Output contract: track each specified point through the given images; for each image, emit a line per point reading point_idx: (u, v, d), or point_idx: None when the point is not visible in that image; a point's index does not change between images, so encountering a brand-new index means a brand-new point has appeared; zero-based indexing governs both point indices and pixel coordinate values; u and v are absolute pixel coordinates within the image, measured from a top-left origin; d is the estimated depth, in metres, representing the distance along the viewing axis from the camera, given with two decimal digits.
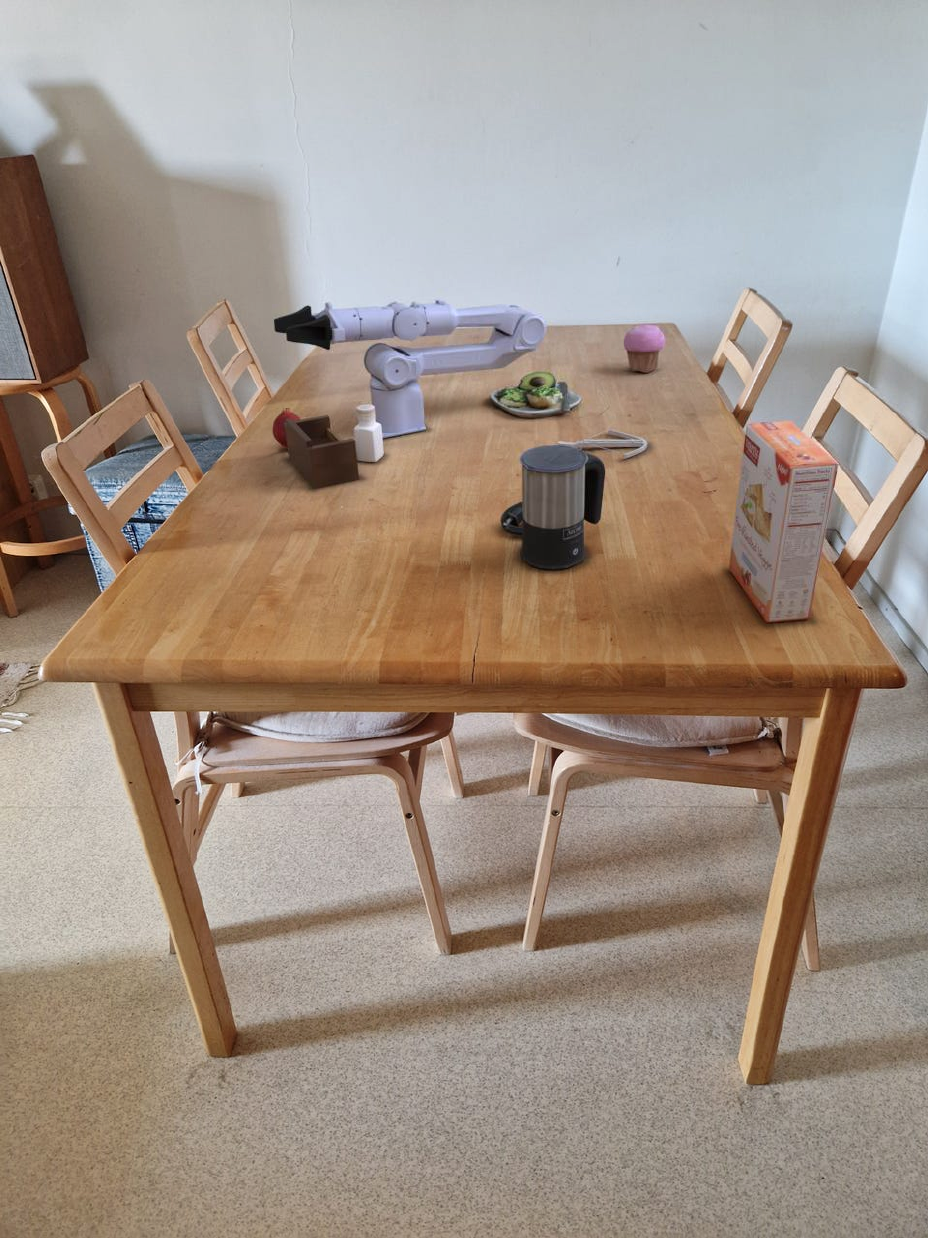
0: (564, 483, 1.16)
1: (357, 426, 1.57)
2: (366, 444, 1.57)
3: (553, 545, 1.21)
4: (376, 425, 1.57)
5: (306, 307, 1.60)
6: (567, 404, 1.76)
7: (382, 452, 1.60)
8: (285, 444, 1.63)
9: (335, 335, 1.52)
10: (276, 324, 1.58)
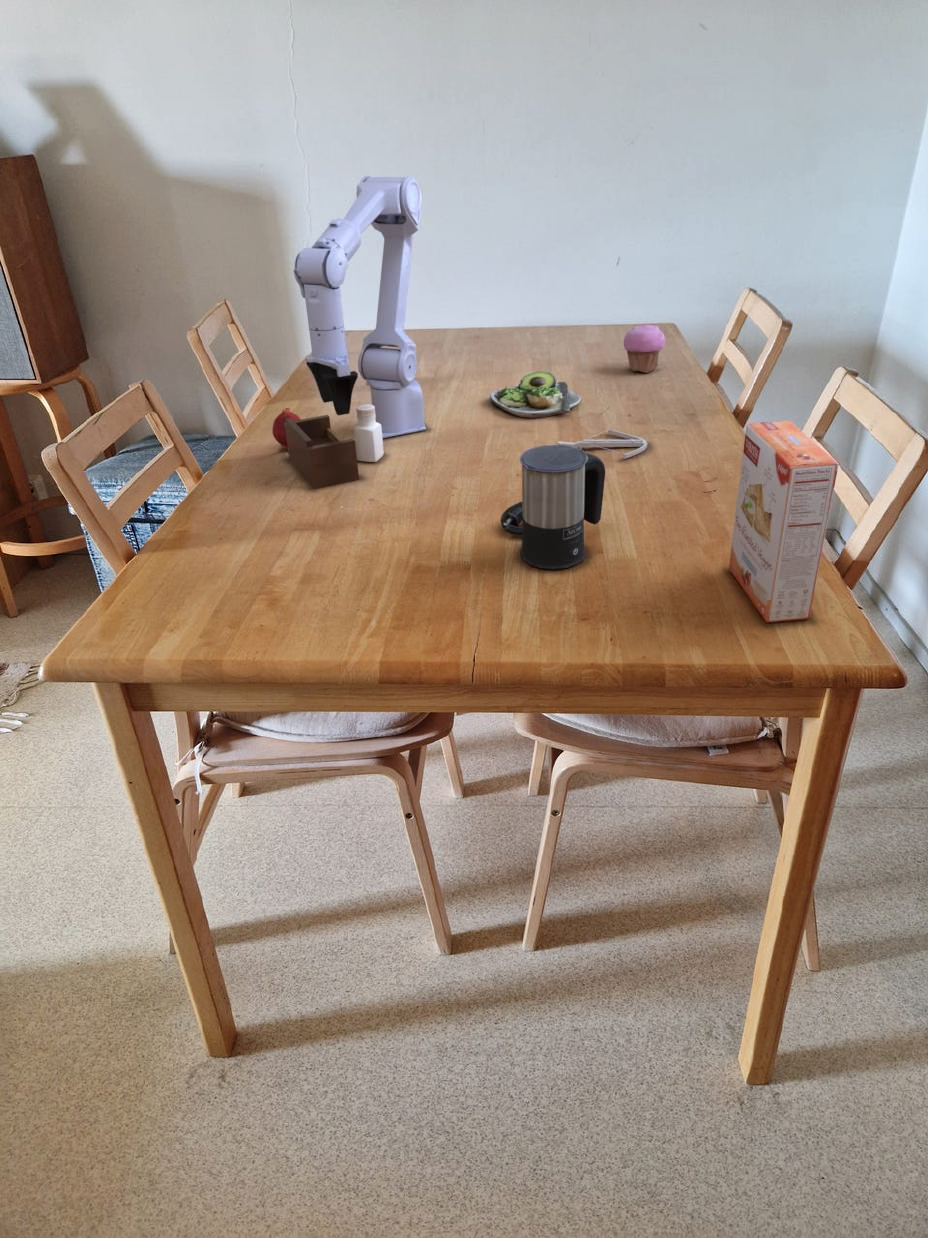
0: (564, 483, 1.16)
1: (357, 426, 1.57)
2: (366, 444, 1.57)
3: (553, 545, 1.21)
4: (376, 425, 1.57)
5: (308, 366, 1.53)
6: (567, 404, 1.76)
7: (382, 452, 1.60)
8: (285, 444, 1.63)
9: (344, 374, 1.44)
10: (328, 400, 1.56)
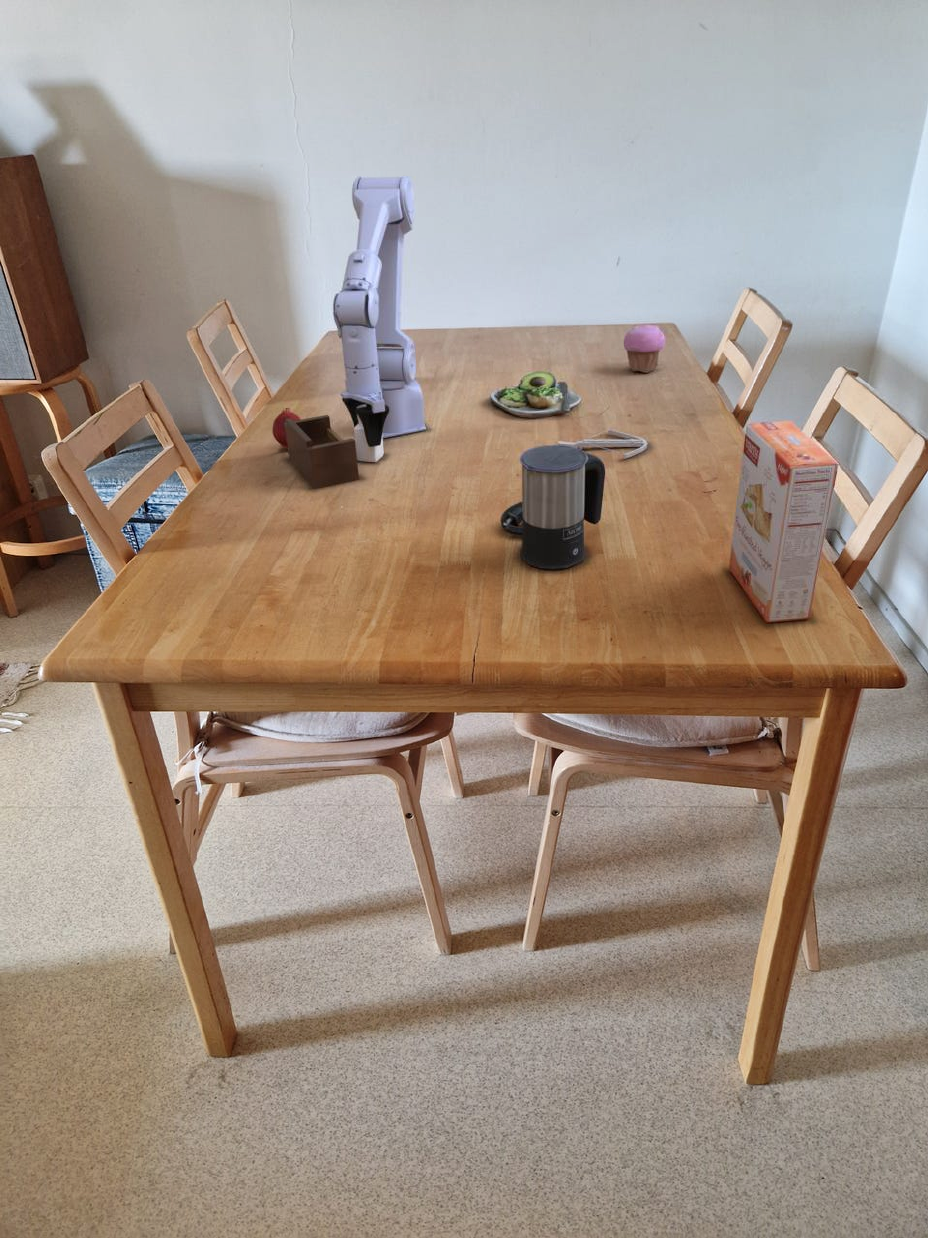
0: (564, 483, 1.16)
1: (357, 426, 1.57)
2: (366, 444, 1.57)
3: (553, 545, 1.21)
4: None
5: (344, 402, 1.58)
6: (567, 404, 1.76)
7: (382, 452, 1.60)
8: (285, 444, 1.63)
9: (379, 410, 1.49)
10: None
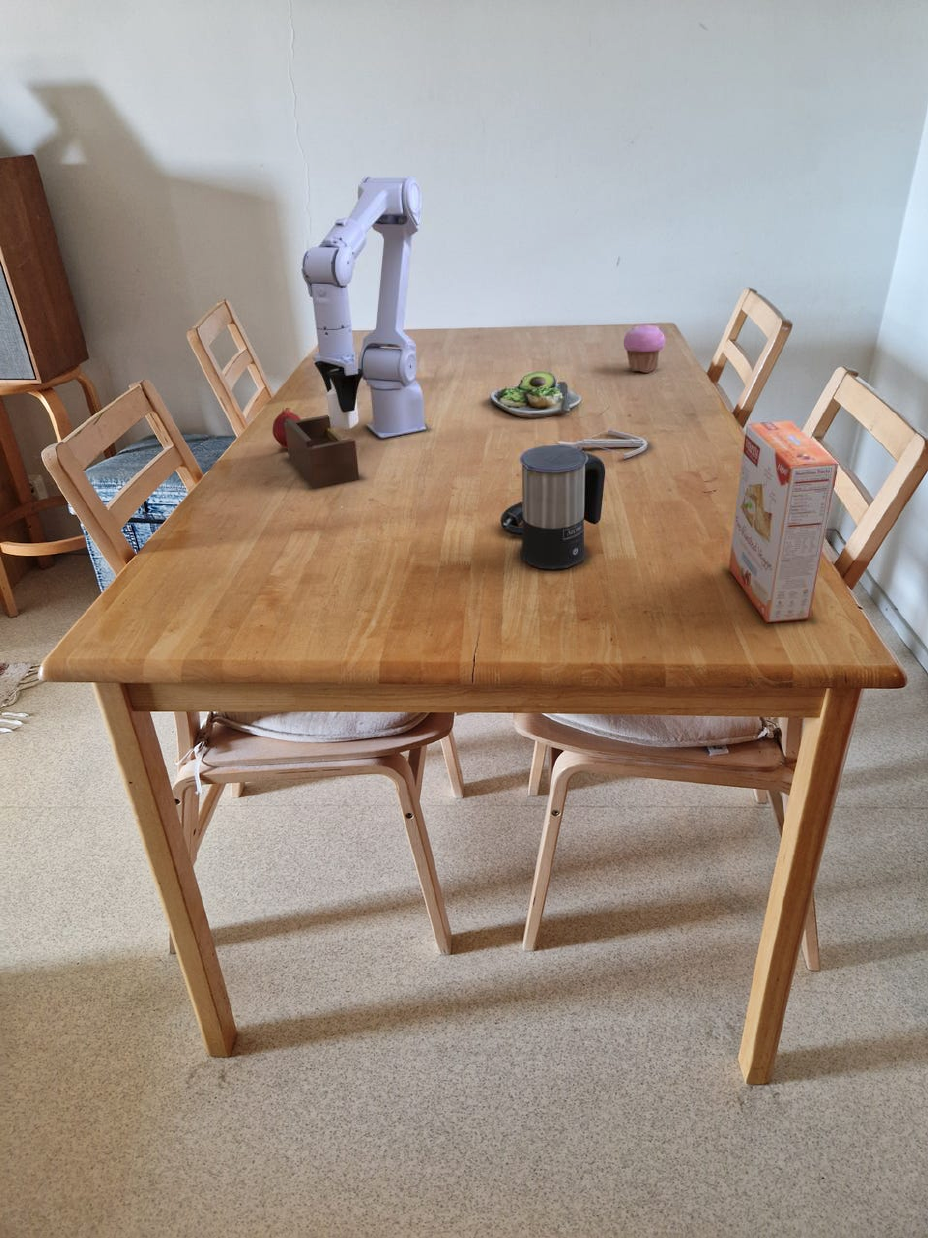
0: (564, 483, 1.16)
1: (330, 391, 1.51)
2: (340, 410, 1.52)
3: (553, 545, 1.21)
4: None
5: (316, 366, 1.52)
6: (567, 404, 1.76)
7: (357, 419, 1.55)
8: (285, 444, 1.63)
9: (352, 373, 1.44)
10: None
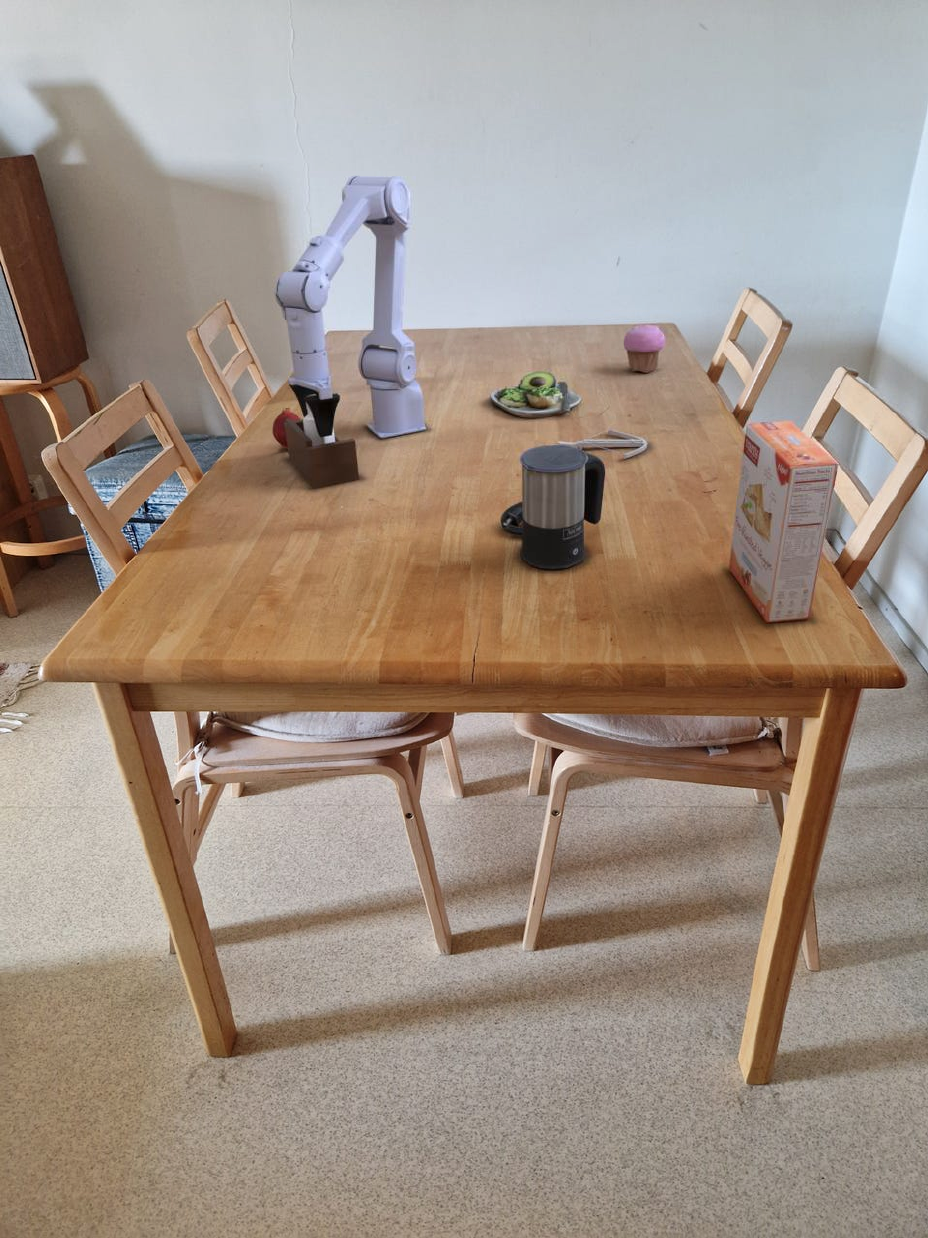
0: (564, 483, 1.16)
1: (306, 416, 1.51)
2: (316, 435, 1.52)
3: (553, 545, 1.21)
4: None
5: (291, 387, 1.53)
6: (567, 404, 1.76)
7: None
8: (285, 444, 1.63)
9: (326, 397, 1.44)
10: None
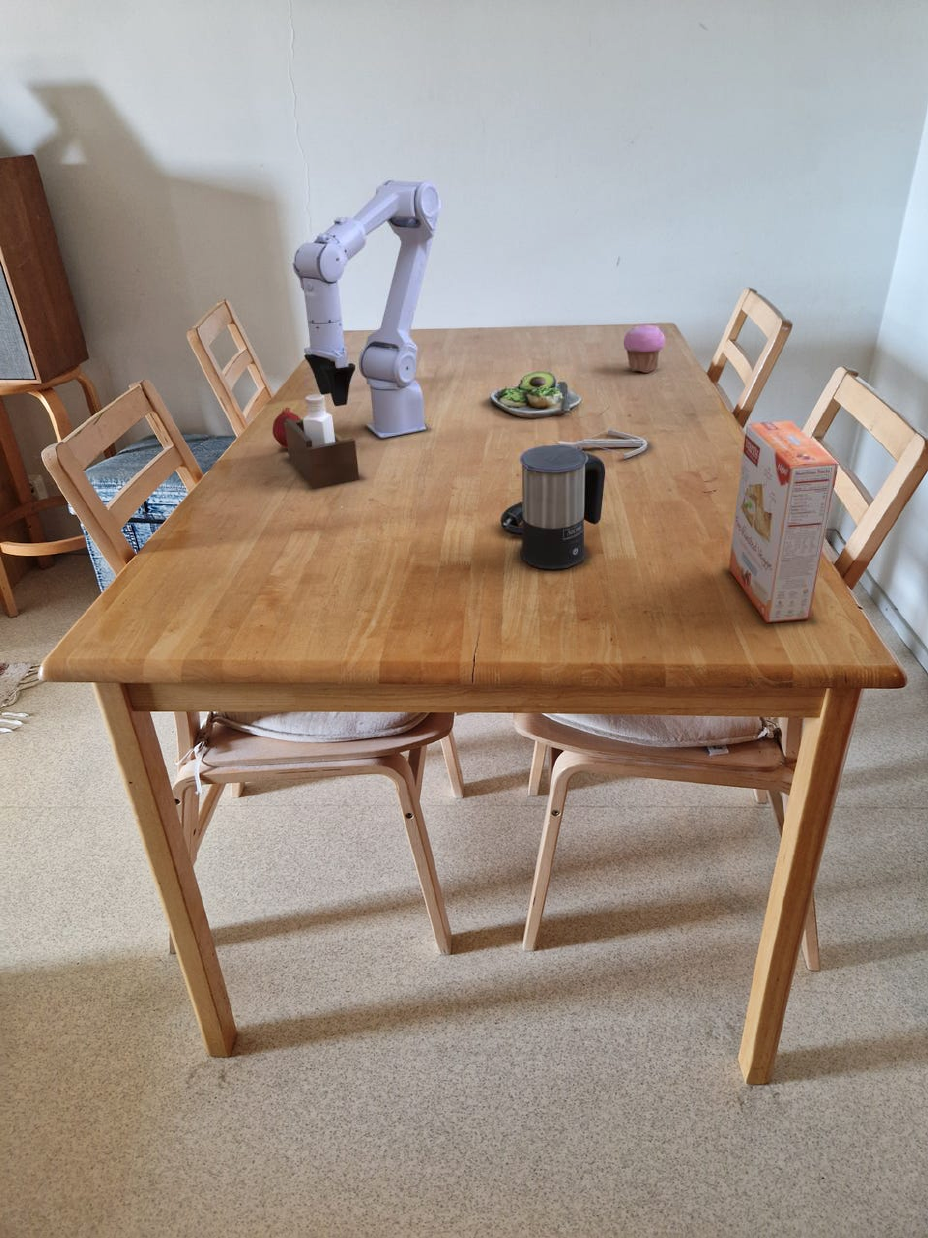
0: (564, 483, 1.16)
1: (306, 416, 1.51)
2: (316, 435, 1.52)
3: (553, 545, 1.21)
4: (326, 415, 1.51)
5: (306, 358, 1.57)
6: (567, 404, 1.76)
7: None
8: (285, 444, 1.63)
9: (342, 366, 1.48)
10: (325, 392, 1.60)
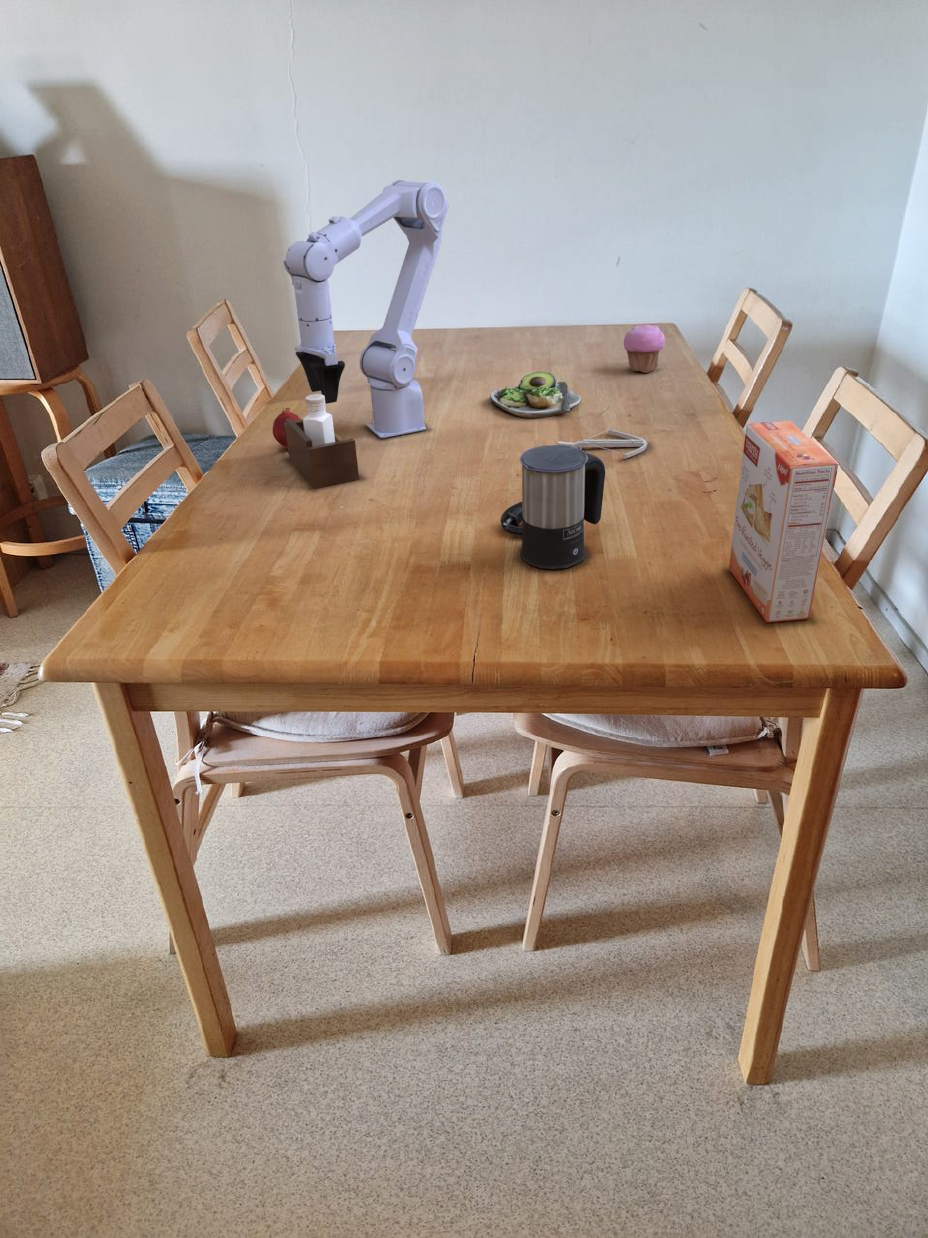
0: (564, 483, 1.16)
1: (306, 416, 1.51)
2: (316, 435, 1.52)
3: (553, 545, 1.21)
4: (326, 415, 1.51)
5: (297, 356, 1.58)
6: (567, 404, 1.76)
7: None
8: (285, 444, 1.63)
9: (332, 363, 1.49)
10: (316, 390, 1.61)
